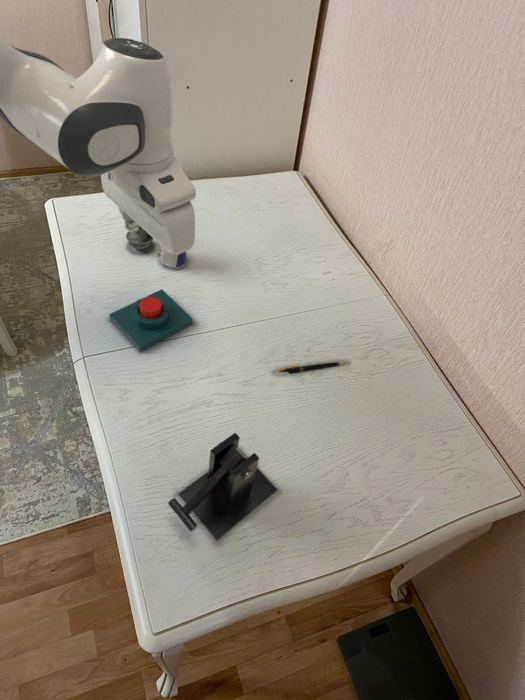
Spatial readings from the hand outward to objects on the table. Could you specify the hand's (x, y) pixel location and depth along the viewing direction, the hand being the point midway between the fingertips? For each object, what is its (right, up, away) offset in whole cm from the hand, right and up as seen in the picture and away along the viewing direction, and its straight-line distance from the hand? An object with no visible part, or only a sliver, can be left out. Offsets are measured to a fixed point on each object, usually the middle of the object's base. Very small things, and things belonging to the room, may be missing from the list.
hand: (148, 244), depth 82 cm
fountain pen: (+28, -21, +12) cm, 37 cm away
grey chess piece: (-8, +5, +29) cm, 30 cm away
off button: (-2, -10, +12) cm, 16 cm away
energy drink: (0, +1, +27) cm, 27 cm away
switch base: (+14, -39, -6) cm, 42 cm away
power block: (-3, -12, +15) cm, 19 cm away
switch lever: (+12, -36, -13) cm, 40 cm away
